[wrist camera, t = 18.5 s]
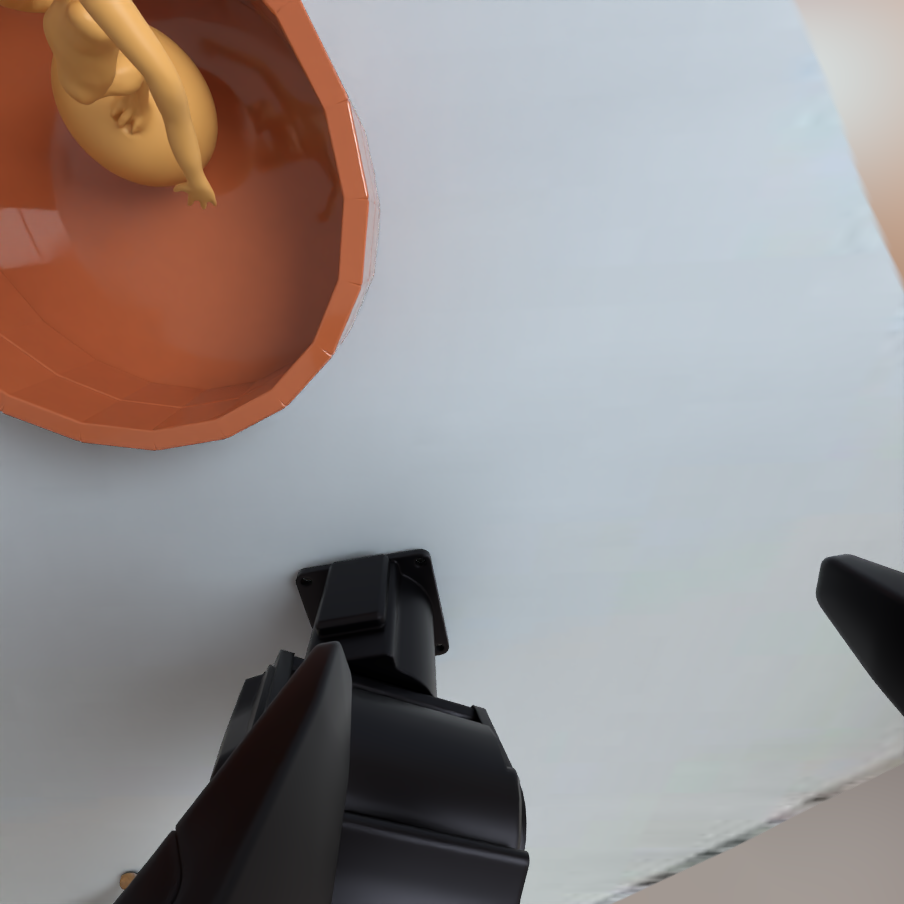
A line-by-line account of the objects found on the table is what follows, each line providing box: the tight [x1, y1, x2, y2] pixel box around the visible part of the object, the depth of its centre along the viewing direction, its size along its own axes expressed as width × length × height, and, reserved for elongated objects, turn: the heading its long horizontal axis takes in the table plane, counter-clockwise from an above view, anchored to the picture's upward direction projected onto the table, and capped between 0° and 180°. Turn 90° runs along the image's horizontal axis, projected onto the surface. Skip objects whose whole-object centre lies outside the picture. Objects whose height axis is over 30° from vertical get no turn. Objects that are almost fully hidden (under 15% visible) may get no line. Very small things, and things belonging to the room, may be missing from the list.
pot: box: [0, 0, 380, 451], centre depth 15 cm, size 14×14×5 cm
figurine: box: [0, 0, 218, 210], centre depth 10 cm, size 8×6×12 cm
